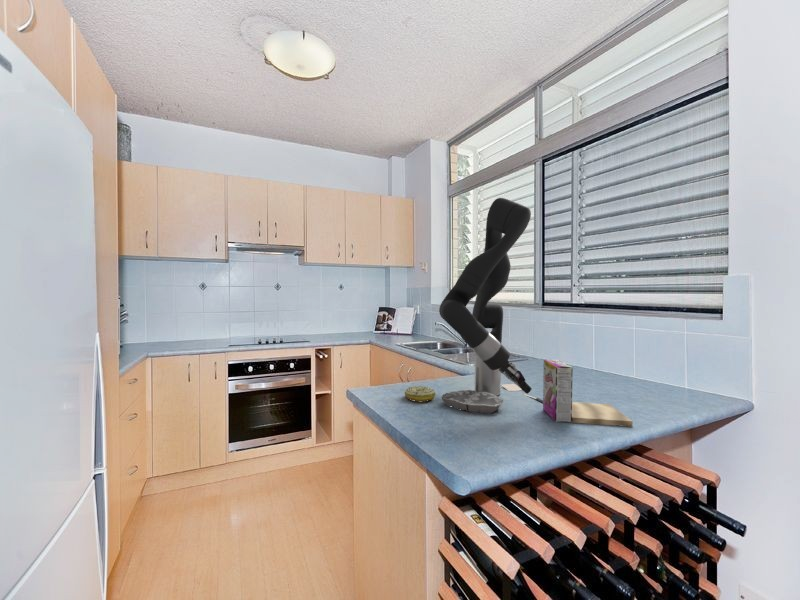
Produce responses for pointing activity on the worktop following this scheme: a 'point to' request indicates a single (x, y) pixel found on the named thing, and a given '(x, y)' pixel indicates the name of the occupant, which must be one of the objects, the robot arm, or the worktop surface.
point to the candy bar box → (557, 390)
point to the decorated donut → (419, 393)
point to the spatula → (515, 388)
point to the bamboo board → (598, 414)
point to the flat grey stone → (472, 401)
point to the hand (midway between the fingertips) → (528, 391)
